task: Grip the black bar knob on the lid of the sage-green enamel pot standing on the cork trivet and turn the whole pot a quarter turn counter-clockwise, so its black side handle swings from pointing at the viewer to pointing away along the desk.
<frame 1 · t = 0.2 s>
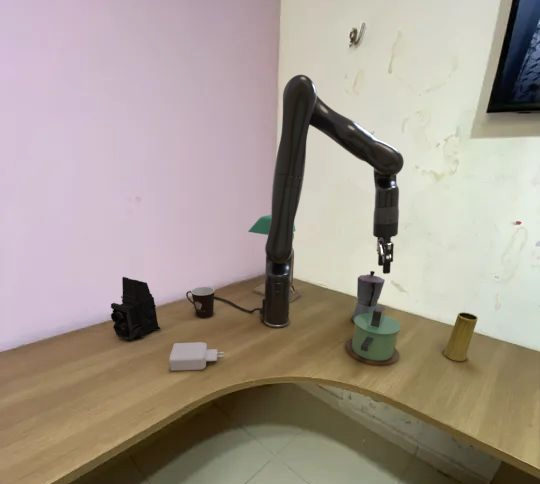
hand: (383, 269, 105), 22 cm above the table, tool pointing down, fingers open, 8 cm apart
moka pot: (364, 322, 118), on the table
pot: (373, 332, 94), point 8 cm above the table, hinge at 0.0°
banker's lamp: (275, 294, 143), on the table
vase: (454, 356, 99), on the table
coffee mug: (202, 313, 122), on the table
camera: (137, 335, 107), on the table
trivet: (371, 351, 100), on the table
charger: (199, 362, 93), on the table
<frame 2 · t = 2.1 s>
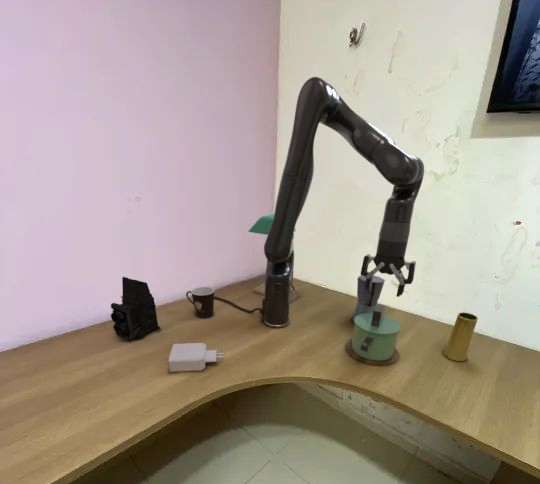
hand: (383, 292, 91), 20 cm above the table, tool pointing down, fingers open, 8 cm apart
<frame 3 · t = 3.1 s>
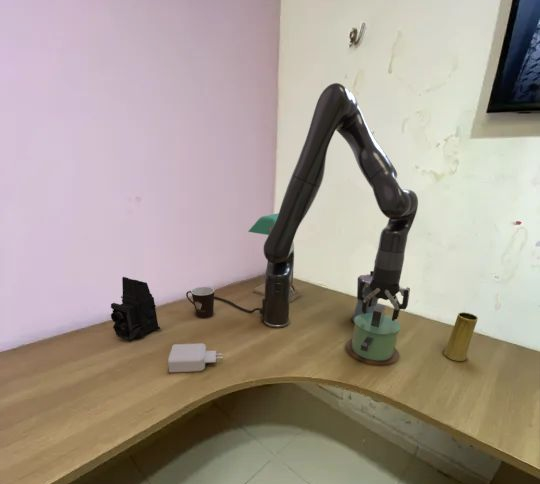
hand: (378, 316, 95), 13 cm above the table, tool pointing down, fingers open, 8 cm apart
nothing on the table moved.
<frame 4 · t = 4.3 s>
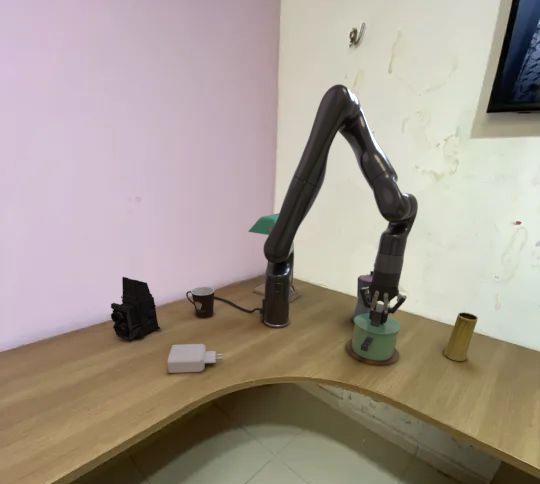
hand: (377, 321, 95), 11 cm above the table, tool pointing down, fingers closed on pot, 2 cm apart
pot: (373, 332, 94), point 8 cm above the table, hinge at 0.0°, touching gripper
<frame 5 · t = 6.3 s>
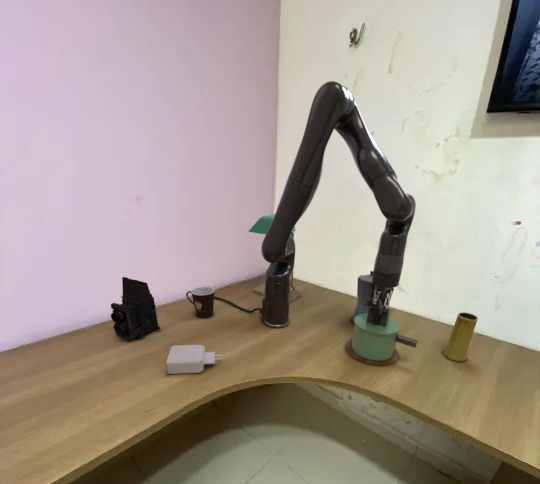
hand: (377, 321, 95), 11 cm above the table, tool pointing down, fingers closed on pot, 2 cm apart
pot: (384, 332, 95), point 8 cm above the table, hinge at 83.9°, touching gripper
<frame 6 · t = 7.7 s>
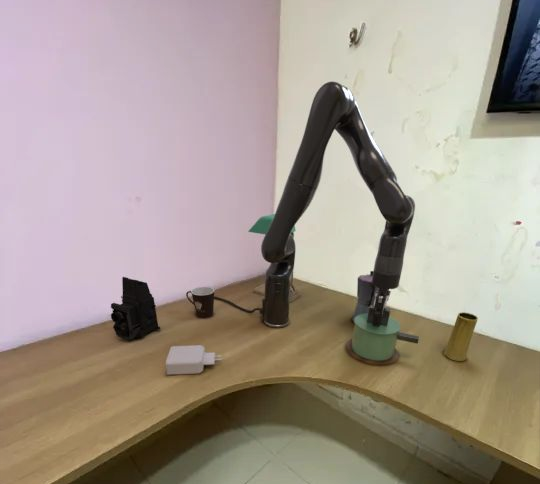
hand: (377, 320, 95), 11 cm above the table, tool pointing down, fingers open, 8 cm apart
pot: (385, 331, 96), point 8 cm above the table, hinge at 97.1°
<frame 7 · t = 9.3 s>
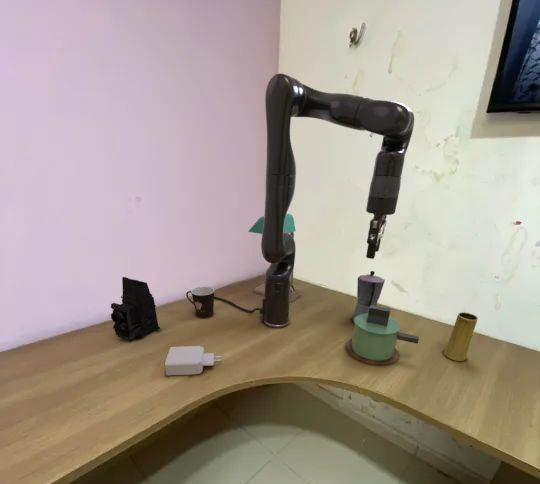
hand: (372, 254, 89), 31 cm above the table, tool pointing down, fingers open, 8 cm apart
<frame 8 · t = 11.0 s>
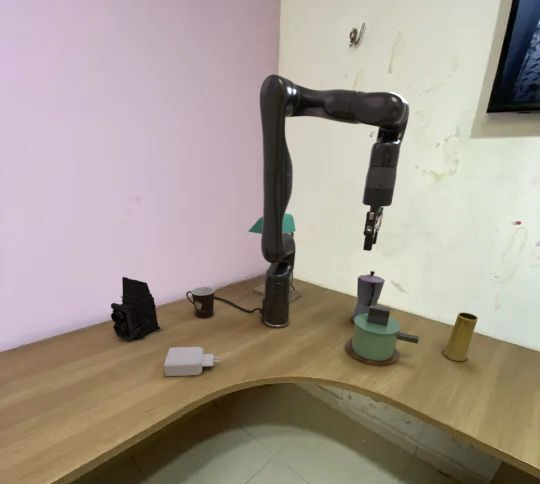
hand: (369, 247, 89), 33 cm above the table, tool pointing down, fingers open, 8 cm apart
at the end: pot at +97° (first picture: +0°); the gripper is holding nothing; moka pot moved 0.2 cm from its start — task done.
